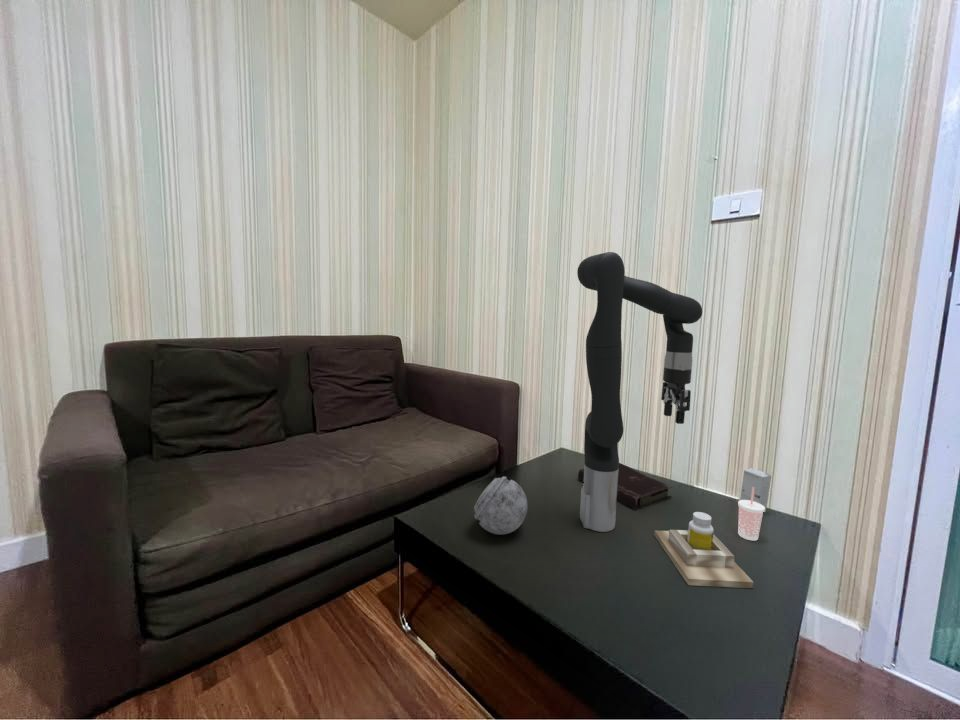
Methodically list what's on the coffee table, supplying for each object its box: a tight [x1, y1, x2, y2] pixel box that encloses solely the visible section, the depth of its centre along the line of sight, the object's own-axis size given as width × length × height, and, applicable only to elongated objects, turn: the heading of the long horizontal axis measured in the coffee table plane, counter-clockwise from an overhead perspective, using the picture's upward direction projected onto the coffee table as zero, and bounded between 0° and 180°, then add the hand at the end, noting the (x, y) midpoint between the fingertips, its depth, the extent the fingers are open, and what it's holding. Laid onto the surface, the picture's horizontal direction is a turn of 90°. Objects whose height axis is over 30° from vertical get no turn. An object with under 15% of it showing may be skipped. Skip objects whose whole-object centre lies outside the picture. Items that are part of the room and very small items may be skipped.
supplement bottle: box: [687, 511, 715, 550], centre depth 99 cm, size 5×5×10 cm
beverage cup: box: [737, 487, 765, 541], centre depth 110 cm, size 6×6×14 cm
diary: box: [577, 462, 673, 511], centre depth 139 cm, size 19×25×5 cm
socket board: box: [653, 529, 754, 589], centre depth 100 cm, size 14×20×4 cm
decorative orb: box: [473, 476, 528, 536], centre depth 110 cm, size 15×14×15 cm
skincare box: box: [739, 467, 772, 513], centre depth 126 cm, size 6×4×12 cm
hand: (673, 419), depth 123 cm, fingers open, 8 cm apart
